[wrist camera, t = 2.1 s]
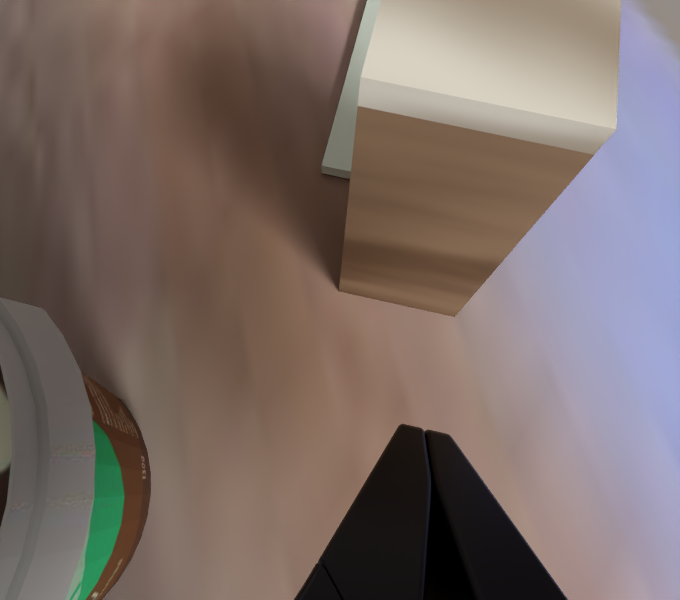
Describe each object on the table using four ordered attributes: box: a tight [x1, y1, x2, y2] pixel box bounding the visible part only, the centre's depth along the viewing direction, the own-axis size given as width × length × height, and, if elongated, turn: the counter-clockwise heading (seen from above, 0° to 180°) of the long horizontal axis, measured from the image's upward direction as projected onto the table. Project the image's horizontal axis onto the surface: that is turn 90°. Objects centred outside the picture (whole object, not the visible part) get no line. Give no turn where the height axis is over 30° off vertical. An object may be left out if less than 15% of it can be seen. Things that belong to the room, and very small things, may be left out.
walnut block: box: [339, 0, 621, 317], centre depth 16 cm, size 5×5×12 cm
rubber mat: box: [322, 0, 381, 179], centre depth 25 cm, size 14×9×1 cm, turn 167°
